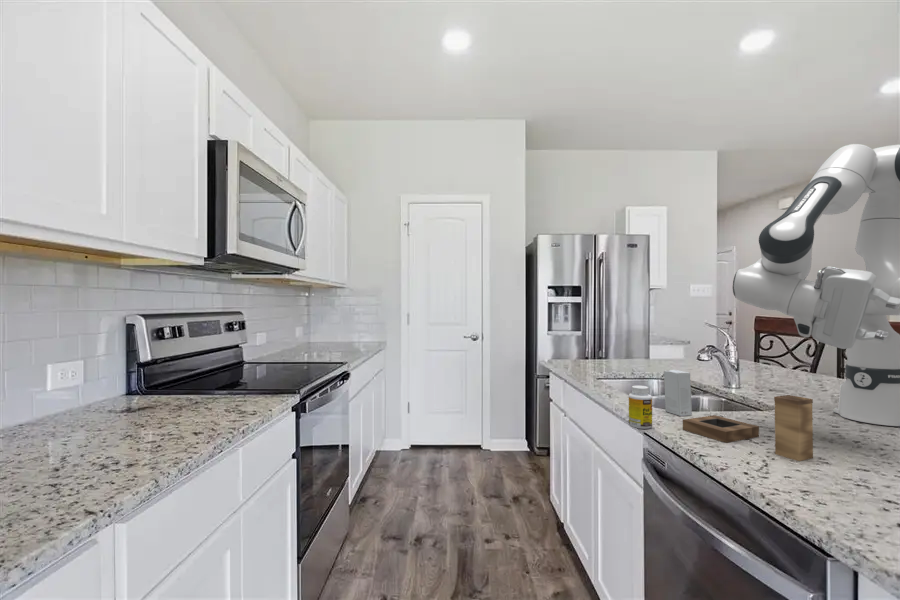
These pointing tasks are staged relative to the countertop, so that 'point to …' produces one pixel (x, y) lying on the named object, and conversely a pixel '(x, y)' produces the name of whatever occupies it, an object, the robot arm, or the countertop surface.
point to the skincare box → (677, 392)
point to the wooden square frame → (721, 428)
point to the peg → (793, 427)
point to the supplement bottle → (640, 408)
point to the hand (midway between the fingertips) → (893, 321)
